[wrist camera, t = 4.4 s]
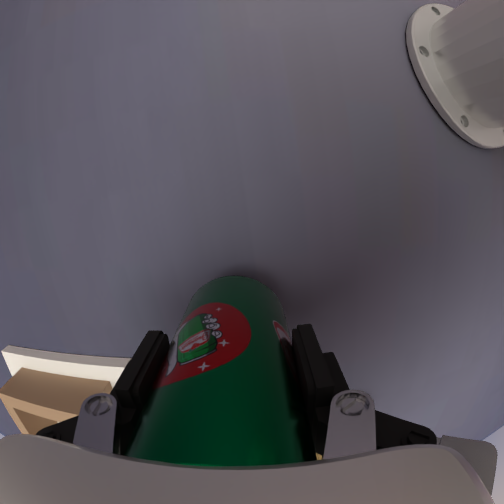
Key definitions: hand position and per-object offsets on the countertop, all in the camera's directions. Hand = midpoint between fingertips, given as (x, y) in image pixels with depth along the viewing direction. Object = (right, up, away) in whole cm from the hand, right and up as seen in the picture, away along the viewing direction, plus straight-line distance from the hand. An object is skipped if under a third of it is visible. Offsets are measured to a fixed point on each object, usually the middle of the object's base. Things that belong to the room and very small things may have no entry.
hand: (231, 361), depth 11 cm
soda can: (0, +1, +4) cm, 4 cm away
